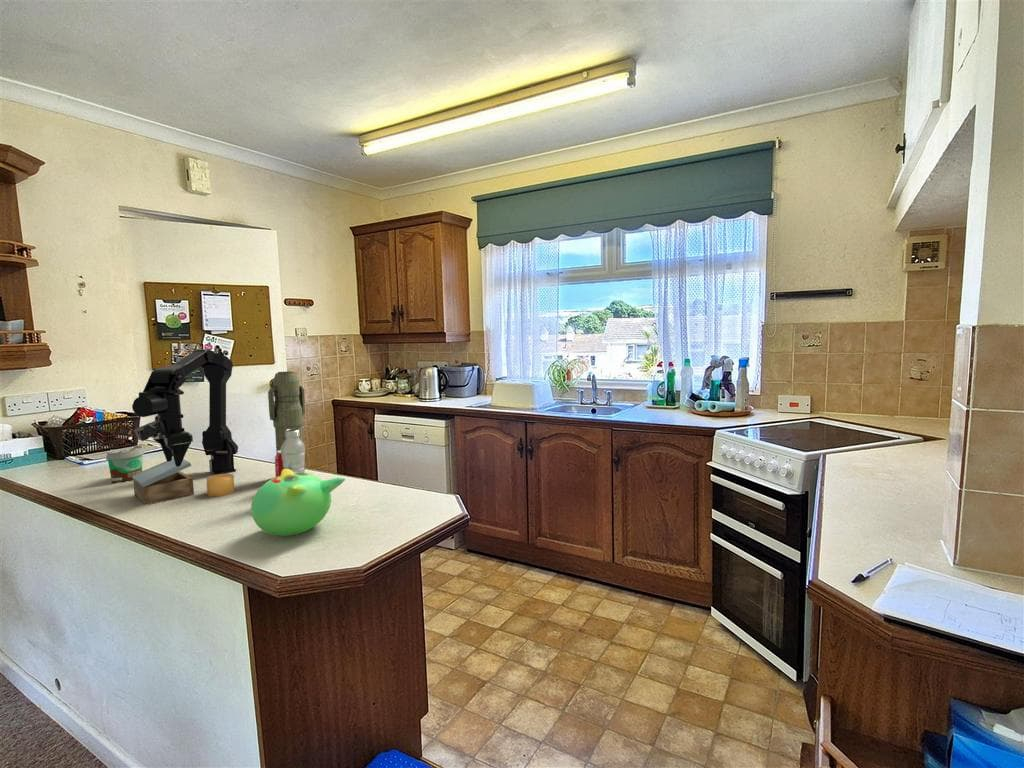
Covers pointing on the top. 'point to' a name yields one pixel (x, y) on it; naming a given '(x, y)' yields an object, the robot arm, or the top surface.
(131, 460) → the food container
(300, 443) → the plastic bottle
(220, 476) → the short orange cylinder
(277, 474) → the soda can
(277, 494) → the green toy creature
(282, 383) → the headless coat mannequin
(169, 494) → the walnut box
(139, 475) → the lid
